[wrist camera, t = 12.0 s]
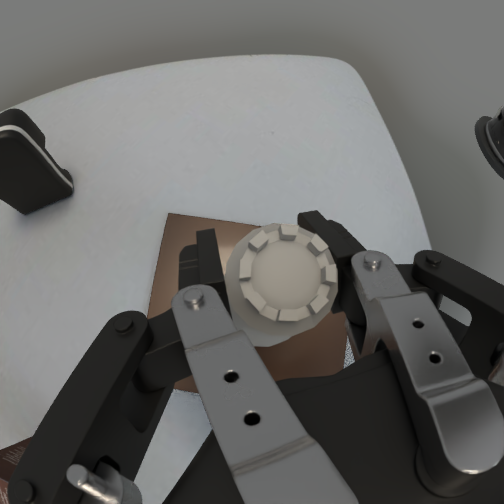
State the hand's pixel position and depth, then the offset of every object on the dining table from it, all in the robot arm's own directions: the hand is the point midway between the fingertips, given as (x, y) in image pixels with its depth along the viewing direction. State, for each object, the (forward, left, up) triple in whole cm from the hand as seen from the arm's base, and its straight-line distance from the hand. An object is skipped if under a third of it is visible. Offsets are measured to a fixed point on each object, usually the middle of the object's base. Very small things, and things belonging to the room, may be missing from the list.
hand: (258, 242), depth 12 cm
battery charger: (+21, -6, -13) cm, 26 cm away
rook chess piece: (-1, +2, -4) cm, 5 cm away
